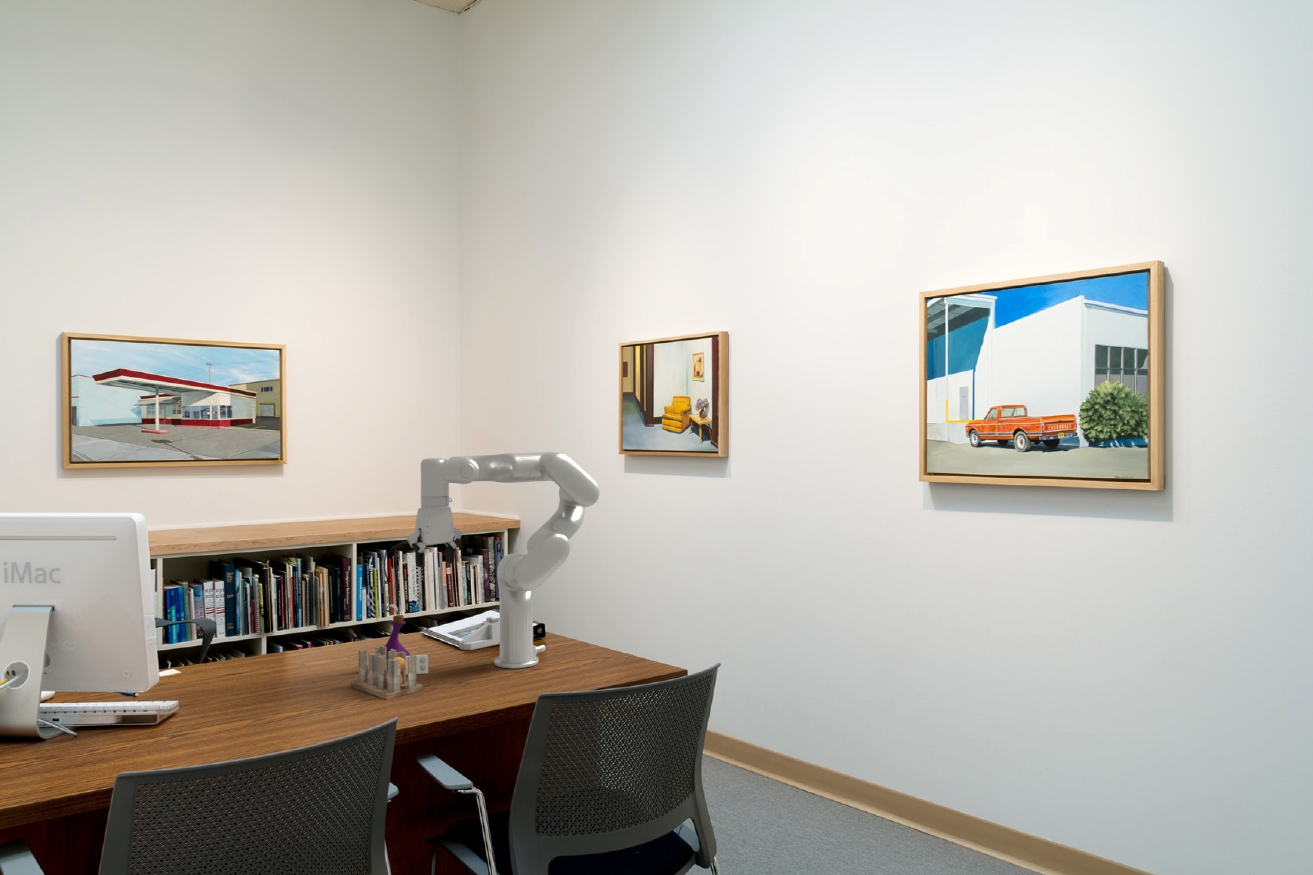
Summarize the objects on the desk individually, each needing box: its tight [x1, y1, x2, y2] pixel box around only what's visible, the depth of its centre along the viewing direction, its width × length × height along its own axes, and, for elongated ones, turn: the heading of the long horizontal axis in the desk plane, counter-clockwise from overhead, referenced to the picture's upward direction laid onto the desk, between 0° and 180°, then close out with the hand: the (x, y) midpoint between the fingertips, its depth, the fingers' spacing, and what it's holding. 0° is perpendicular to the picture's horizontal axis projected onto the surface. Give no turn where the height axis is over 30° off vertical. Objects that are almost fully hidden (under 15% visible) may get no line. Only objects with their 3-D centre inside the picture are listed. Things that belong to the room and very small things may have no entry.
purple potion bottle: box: [384, 603, 411, 671], centre depth 257 cm, size 8×8×18 cm
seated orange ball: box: [387, 674, 403, 686], centre depth 232 cm, size 4×4×4 cm
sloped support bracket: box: [458, 616, 500, 651], centre depth 285 cm, size 6×18×8 cm, turn 137°
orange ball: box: [393, 657, 406, 672], centre depth 234 cm, size 4×4×4 cm
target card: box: [406, 654, 429, 676], centre depth 250 cm, size 1×8×5 cm, turn 105°
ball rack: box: [350, 645, 425, 700], centre depth 236 cm, size 11×17×9 cm, turn 49°
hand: (435, 564), depth 250 cm, fingers open, 9 cm apart
